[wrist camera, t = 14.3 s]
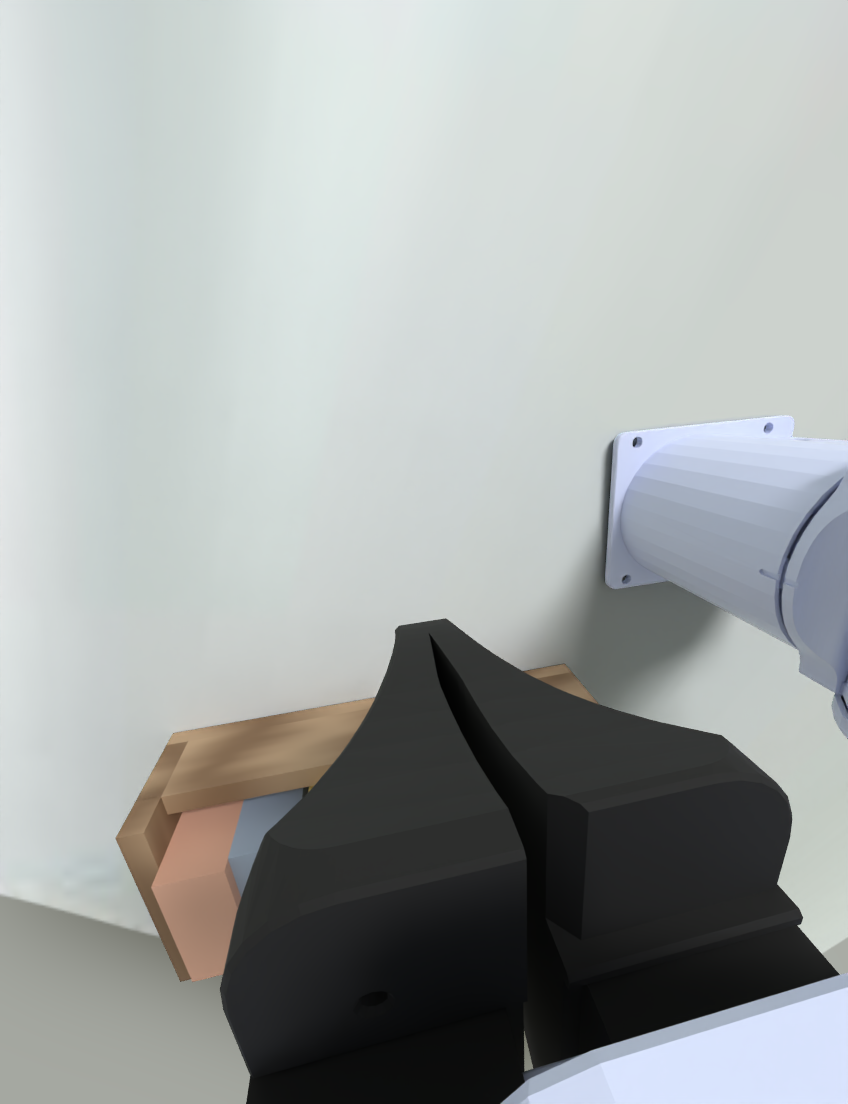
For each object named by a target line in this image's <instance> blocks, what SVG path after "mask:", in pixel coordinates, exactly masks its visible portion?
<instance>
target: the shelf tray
mask: <svg viewBox="0 0 848 1104" xmlns="http://www.w3.org/2000/svg"><path fill="white" fill-rule="evenodd" d="M523 672H525V673H527V674H529V675H531V676H532V677H535V678H537V679H539V680H541V681H543V682H545V683H547V684H549V685H551V686H553V687H555V688H558V689H560V690H563V691H565V692H567V693H570V694H572V695H575V696H578V697H580V698H583V699H586V700H588V701H591V702H594V703H596V704H598V703H597V701H596V700H595V699H594V698H593V697H592V696H591V694H590V693H589V692H588V691H587V690H586V688H585V687H584V686H583V685H582V684H581V683H580V681H579V680H578V679H577V678H576V677H575V675H574V674H573V673H572V672H571V671H570V669H569V668H568V667H567V666H566V665H565V664H562V665H556V666H550V667H545V668H539V669H533V670H528V671H523ZM374 699H375V698H370V699H364V700H359V701H353V702H347V703H342V704H336V705H330V706H325V707H319V708H313V709H308V710H302V711H296V712H291V713H285V714H280V715H274V716H268V717H263V718H257V719H251V720H246V721H240V722H234V723H229V724H223V725H217V726H212V727H206V728H201V729H195V730H189V731H184V732H178V733H173V734H172V736H171V738H170V740H169V742H168V743H167V745H166V747H165V749H164V751H163V753H162V754H161V756H160V758H159V760H158V762H157V764H156V765H155V767H154V769H153V771H152V773H151V775H150V776H149V778H148V780H147V782H146V784H145V785H144V787H143V789H142V791H141V793H140V795H139V796H138V798H137V800H136V802H135V804H134V806H133V807H132V809H131V811H130V813H129V815H128V817H127V818H126V820H125V822H124V824H123V826H122V828H121V829H120V831H119V833H118V835H117V837H116V841H117V843H118V845H119V847H120V849H121V852H122V854H123V856H124V858H125V860H126V863H127V865H128V867H129V869H130V872H131V874H132V876H133V878H134V880H135V883H136V885H137V887H138V889H139V891H140V894H141V896H142V898H143V900H144V902H145V905H146V907H147V909H148V911H149V913H150V916H151V918H152V920H153V922H154V924H155V927H156V929H157V931H158V933H159V935H160V938H161V940H162V942H163V944H164V946H165V949H166V951H167V953H168V955H169V958H170V960H171V962H172V964H173V966H174V968H175V971H176V973H177V975H178V977H179V980H180V982H181V981H185V980H189V979H191V977H190V975H189V973H188V971H187V968H186V966H185V964H184V961H183V959H182V957H181V955H180V952H179V950H178V948H177V945H176V943H175V941H174V939H173V936H172V934H171V932H170V929H169V927H168V925H167V923H166V920H165V918H164V916H163V913H162V911H161V909H160V907H159V904H158V902H157V900H156V898H155V895H154V893H153V891H152V888H151V886H152V884H153V882H154V879H155V877H156V874H157V872H158V870H159V867H160V865H161V862H162V860H163V858H164V855H165V853H166V850H167V848H168V846H169V843H170V841H171V838H172V836H173V834H174V831H175V829H176V826H177V824H178V822H179V819H180V817H181V814H182V812H184V811H189V810H194V809H199V808H204V807H209V806H214V805H219V804H224V803H229V802H234V801H239V800H244V799H249V798H254V797H259V796H264V795H269V794H274V793H279V792H284V791H289V790H294V789H299V788H304V787H309V786H314V785H315V784H316V783H317V782H318V781H319V779H320V778H321V777H322V776H323V775H324V773H325V772H326V771H327V770H328V769H329V767H330V766H331V765H332V764H333V763H334V761H335V760H336V759H337V758H338V757H339V755H340V754H341V753H342V751H343V750H344V748H345V747H346V746H347V744H348V743H349V741H350V740H351V738H352V737H353V735H354V734H355V732H356V731H357V729H358V728H359V726H360V725H361V723H362V721H363V720H364V718H365V716H366V714H367V713H368V711H369V709H370V707H371V705H372V703H373V701H374Z"/></svg>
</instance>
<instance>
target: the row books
mask: <svg viewBox="0 0 848 1104" xmlns="http://www.w3.org/2000/svg"><path fill="white" fill-rule="evenodd" d="M308 789H309V787H304V788H299V789H294V790H289V791H284V792H279V793H274V794H269V795H264V796H259V797H254V798H249V799H244V800H239V801H234V802H229V803H224V804H219V805H214V806H209V807H204V808H199V809H194V810H189V811H184V812H182V814H181V817H180V819H179V822H178V824H177V826H176V829H175V831H174V834H173V836H172V838H171V841H170V843H169V846H168V848H167V850H166V853H165V855H164V858H163V860H162V862H161V865H160V867H159V870H158V872H157V874H156V877H155V879H154V882H153V884H152V886H151V888H152V891H153V893H154V895H155V898H156V900H157V902H158V904H159V907H160V909H161V911H162V913H163V916H164V918H165V920H166V923H167V925H168V927H169V929H170V932H171V934H172V936H173V939H174V941H175V943H176V945H177V948H178V950H179V952H180V955H181V957H182V959H183V961H184V964H185V966H186V968H187V971H188V973H189V975H190V977H191V980H192V982H194V981H198V980H202V979H207V978H210V977H215V976H219V975H223V973H224V968H225V963H226V959H227V954H228V949H229V945H230V940H231V935H232V931H233V926H234V922H235V918H236V913H237V910H238V907H239V903H240V900H241V897H242V894H243V891H244V888H245V885H246V882H247V879H248V877H249V874H250V871H251V868H252V865H253V863H254V860H255V857H256V855H257V852H258V850H259V847H260V845H261V842H262V840H263V838H264V835H265V834H266V833H267V831H269V830H270V829H271V828H272V827H273V826H274V825H275V824H276V823H277V822H278V821H279V820H280V819H282V818H283V817H284V816H285V815H286V814H287V813H288V812H289V811H290V810H291V809H292V808H293V807H294V806H295V805H296V804H297V803H298V802H299V801H300V800H301V799H302V798H303V797H304V796H305V795H306V794H307V793H308Z"/></svg>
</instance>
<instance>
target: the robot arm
mask: <svg viewBox="0 0 848 1104" xmlns="http://www.w3.org/2000/svg"><path fill="white" fill-rule="evenodd" d="M765 425H766V428H765V430H764V427H765ZM793 429H794V419H793V418H792V417H791V416H773V417H763V418H753V419H744V420H734V421H725V422H715V423H706V424H696V425H687V426H677V427H668V428H658V429H649V430H639V431H630V432H623V433H620V434H619V435H617V436H616V438H615V440H614V444H613V458H612V474H611V491H610V507H609V523H608V539H607V555H606V572H605V583H606V584H607V586H609V587H610V588H612V589H621V588H627V587H633V586H640V585H646V584H653V583H659V582H665V581H670V582H672V583H674V584H676V585H678V586H680V587H682V588H683V589H685V590H687V591H689V592H691V593H693V594H695V595H696V596H698V597H700V598H702V599H704V600H706V601H708V602H710V603H711V604H713V605H715V606H717V607H719V608H721V609H723V610H724V611H726V612H728V613H730V614H732V615H734V616H736V617H738V618H739V619H741V620H743V621H745V622H747V623H749V624H751V625H752V626H754V627H756V628H758V629H760V630H762V631H764V632H766V633H767V634H769V635H771V636H773V637H775V638H777V639H779V640H780V641H782V642H784V643H786V644H788V645H790V646H792V647H794V648H795V649H797V650H799V654H800V665H799V672H800V673H801V674H803V675H805V676H807V677H808V678H810V679H812V680H813V681H815V682H817V683H819V684H820V685H822V686H824V687H825V688H827V689H829V690H831V691H832V692H834V693H835V695H834V697H833V701H832V711H833V716H834V719H835V721H836V723H837V725H838V727H839V729H840V730H841V731H842V733H843V734H844V735H845V736H846V738H847V739H848V440H832V439H816V438H799V437H792V434H793ZM634 438H637V444H636V445H635V446H634V447H633V445H632V442H633V440H634ZM625 575H626V579H625V580H623V581H622V578H623V577H624V576H625ZM791 825H792V812H791V808H790V804H789V800H788V796H787V795H786V794H785V792H784V791H783V790H782V789H781V787H780V786H779V785H778V784H777V783H776V782H775V781H774V780H773V779H772V778H771V777H769V776H768V775H767V774H766V773H765V772H764V771H763V770H761V769H760V768H759V767H758V766H757V765H756V764H755V763H753V762H752V761H751V760H750V759H749V758H748V757H746V756H745V755H744V754H743V753H742V752H741V751H740V750H738V749H737V748H736V747H735V746H734V745H733V744H732V743H730V742H729V741H728V740H727V739H725V738H724V737H723V736H722V735H717V734H713V733H708V732H703V731H699V730H694V729H689V728H684V727H680V726H675V725H670V724H666V723H661V722H657V721H653V720H649V719H646V718H642V717H638V716H635V715H631V714H628V713H624V712H621V711H618V710H614V709H611V708H608V707H605V706H602V705H599V704H596V703H594V702H591V701H588V700H586V699H583V698H580V697H578V696H575V695H572V694H570V693H567V692H565V691H563V690H560V689H558V688H555V687H553V686H551V685H549V684H547V683H545V682H543V681H541V680H539V679H537V678H535V677H532V676H531V675H529V674H527V673H525V672H523V671H521V670H519V669H518V668H516V667H514V666H513V665H511V664H509V663H508V662H506V661H504V660H503V659H501V658H499V657H498V656H496V655H495V654H493V653H492V652H490V651H489V650H487V649H486V648H484V647H483V646H482V645H480V644H479V643H477V642H476V641H475V640H473V639H472V638H471V637H469V636H468V635H467V634H465V633H464V632H463V631H462V630H460V629H459V628H458V627H456V626H455V625H454V624H453V623H451V622H450V621H449V620H447V619H440V620H433V621H427V622H421V623H414V624H408V625H401V626H398V628H397V629H396V630H395V644H394V649H393V653H392V656H391V659H390V663H389V666H388V669H387V672H386V674H385V677H384V679H383V682H382V684H381V686H380V689H379V691H378V693H377V695H376V697H375V699H374V701H373V703H372V705H371V707H370V709H369V711H368V713H367V714H366V716H365V718H364V720H363V721H362V723H361V725H360V726H359V728H358V729H357V731H356V732H355V734H354V735H353V737H352V738H351V740H350V741H349V743H348V744H347V746H346V747H345V748H344V750H343V751H342V753H341V754H340V755H339V757H338V758H337V759H336V760H335V761H334V763H333V764H332V765H331V766H330V767H329V769H328V770H327V771H326V772H325V773H324V775H323V776H322V777H321V778H320V779H319V781H318V782H317V783H316V784H315V785H314V787H313V788H312V789H311V790H310V791H309V792H308V793H307V794H306V795H305V796H304V797H303V798H302V799H301V800H300V801H299V802H298V803H297V804H296V805H295V806H294V807H293V808H292V809H291V810H290V811H289V812H288V813H287V814H286V815H285V816H284V817H283V818H282V819H280V820H279V821H278V822H277V823H276V824H275V825H274V826H273V827H272V828H271V829H270V830H269V831H267V833H266V834H265V835H264V838H263V840H262V842H261V845H260V847H259V850H258V852H257V855H256V857H255V860H254V863H253V865H252V868H251V871H250V874H249V877H248V879H247V882H246V885H245V888H244V891H243V894H242V897H241V900H240V903H239V907H238V910H237V913H236V918H235V922H234V926H233V931H232V935H231V940H230V945H229V949H228V954H227V959H226V963H225V968H224V973H223V977H222V982H221V987H220V992H221V998H222V1004H223V1010H224V1012H225V1015H226V1017H227V1020H228V1022H229V1025H230V1027H231V1029H232V1032H233V1034H234V1037H235V1039H236V1042H237V1044H238V1046H239V1049H240V1051H241V1054H242V1056H243V1058H244V1061H245V1063H246V1066H247V1068H248V1071H249V1073H250V1075H251V1076H250V1083H249V1089H248V1096H247V1102H246V1104H848V973H845V974H842V975H840V974H839V973H838V972H837V971H836V970H835V969H834V968H833V966H832V965H831V964H830V963H829V962H828V961H827V960H826V958H825V957H824V956H823V955H822V954H821V953H820V951H819V950H818V949H817V948H816V947H815V946H814V944H813V943H812V942H811V941H810V940H809V939H808V938H807V936H806V935H805V934H804V933H803V932H802V931H801V929H800V928H799V927H798V926H797V925H800V924H801V922H802V919H803V916H802V914H801V912H800V910H799V908H798V907H797V906H796V905H795V904H794V902H793V901H792V900H791V899H790V898H789V897H788V896H787V895H786V894H785V892H784V891H783V890H782V889H781V888H780V887H779V886H778V885H777V882H778V878H779V875H780V871H781V868H782V864H783V861H784V857H785V853H786V850H787V846H788V843H789V839H790V833H791ZM524 1031H525V1035H526V1039H527V1043H528V1048H529V1051H530V1056H531V1060H532V1064H533V1069H532V1070H528V1071H525V1072H524Z"/></svg>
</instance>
